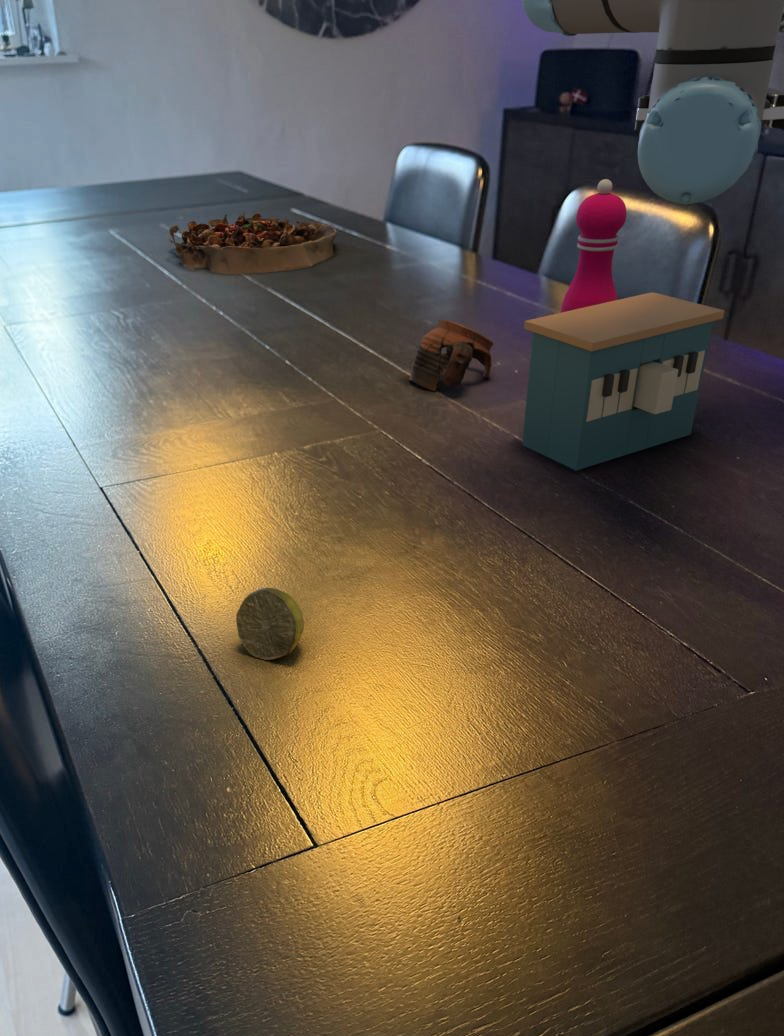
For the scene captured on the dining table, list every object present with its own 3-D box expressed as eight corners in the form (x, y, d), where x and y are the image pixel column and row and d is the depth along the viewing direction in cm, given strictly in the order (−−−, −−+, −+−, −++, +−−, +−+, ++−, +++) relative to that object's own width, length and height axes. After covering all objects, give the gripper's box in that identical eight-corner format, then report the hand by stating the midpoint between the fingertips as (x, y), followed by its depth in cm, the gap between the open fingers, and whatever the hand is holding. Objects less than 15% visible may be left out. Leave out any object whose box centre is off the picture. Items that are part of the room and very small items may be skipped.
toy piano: (699, 435, 97) (725, 310, 90) (575, 474, 90) (592, 342, 83) (633, 410, 104) (652, 291, 97) (513, 445, 97) (524, 320, 90)
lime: (307, 664, 66) (304, 605, 63) (239, 670, 66) (233, 610, 63) (302, 630, 70) (299, 572, 67) (238, 635, 70) (232, 578, 67)
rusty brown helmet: (397, 376, 118) (425, 313, 116) (462, 406, 120) (491, 345, 118) (416, 382, 107) (447, 313, 104) (488, 415, 109) (520, 347, 106)
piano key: (671, 410, 90) (678, 369, 88) (655, 414, 89) (662, 373, 87) (638, 398, 93) (645, 358, 91) (622, 402, 92) (628, 362, 90)
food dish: (169, 246, 195) (165, 205, 191) (325, 238, 197) (325, 198, 193) (167, 278, 165) (162, 231, 161) (350, 268, 168) (350, 222, 164)
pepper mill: (624, 343, 124) (649, 178, 112) (587, 355, 120) (609, 186, 109) (582, 332, 129) (602, 172, 118) (545, 342, 126) (562, 179, 114)
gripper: (615, 174, 77) (647, 139, 95) (788, 176, 72) (788, 139, 90) (629, 68, 73) (660, 52, 90) (813, 63, 68) (808, 47, 86)
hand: (724, 95), depth 90 cm, fingers closed
